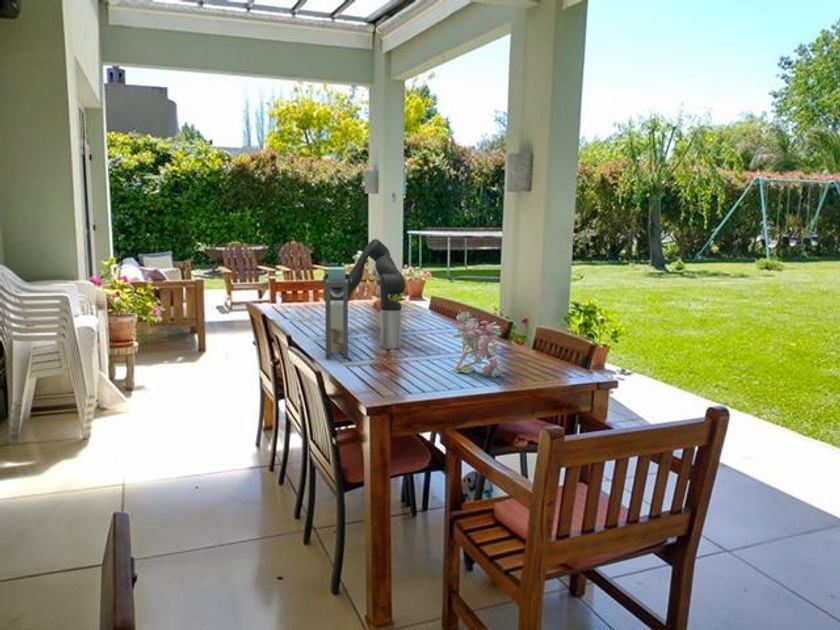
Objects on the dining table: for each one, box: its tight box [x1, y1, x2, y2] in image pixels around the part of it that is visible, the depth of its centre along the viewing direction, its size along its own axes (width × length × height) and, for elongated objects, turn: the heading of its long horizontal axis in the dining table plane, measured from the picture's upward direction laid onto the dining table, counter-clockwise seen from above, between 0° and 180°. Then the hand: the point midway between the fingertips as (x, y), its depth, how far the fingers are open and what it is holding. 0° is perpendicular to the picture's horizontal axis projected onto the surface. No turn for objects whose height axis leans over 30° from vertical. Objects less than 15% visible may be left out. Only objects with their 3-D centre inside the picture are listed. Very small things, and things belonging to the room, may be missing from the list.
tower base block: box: [331, 329, 343, 353], centre depth 287 cm, size 8×12×10 cm, turn 7°
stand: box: [324, 279, 349, 360], centre depth 272 cm, size 9×12×32 cm
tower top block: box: [330, 301, 343, 329], centre depth 285 cm, size 8×12×10 cm, turn 7°
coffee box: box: [462, 313, 481, 354], centre depth 288 cm, size 9×6×16 cm
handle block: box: [327, 266, 346, 279], centre depth 287 cm, size 7×21×6 cm, turn 7°
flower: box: [450, 308, 504, 378], centre depth 246 cm, size 20×22×25 cm
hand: (337, 272), depth 292 cm, fingers closed on handle block, 3 cm apart
